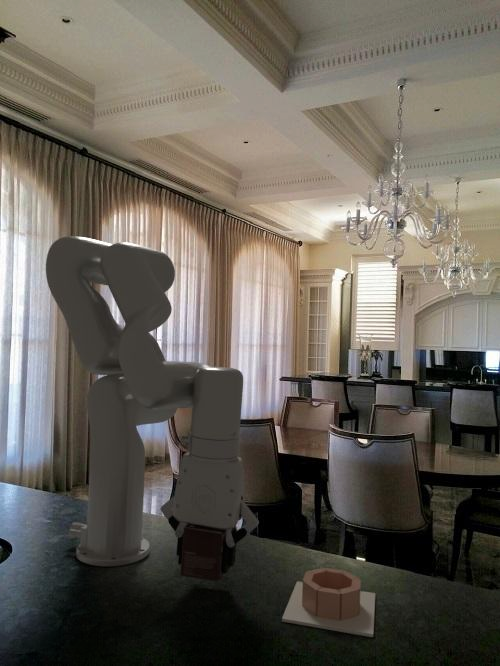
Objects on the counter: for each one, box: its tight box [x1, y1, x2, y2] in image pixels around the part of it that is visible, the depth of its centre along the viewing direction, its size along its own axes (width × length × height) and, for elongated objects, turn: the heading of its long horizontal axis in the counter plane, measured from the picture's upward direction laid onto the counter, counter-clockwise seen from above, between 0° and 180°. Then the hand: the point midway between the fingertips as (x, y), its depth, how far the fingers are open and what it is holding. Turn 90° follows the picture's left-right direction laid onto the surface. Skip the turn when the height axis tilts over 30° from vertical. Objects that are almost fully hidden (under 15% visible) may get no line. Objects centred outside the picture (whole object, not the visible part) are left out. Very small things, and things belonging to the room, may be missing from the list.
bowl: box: [302, 567, 362, 621], centre depth 73 cm, size 8×8×4 cm
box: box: [180, 524, 226, 583], centre depth 77 cm, size 6×6×7 cm
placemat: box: [281, 580, 376, 638], centre depth 72 cm, size 12×12×1 cm
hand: (205, 564), depth 77 cm, fingers closed on box, 6 cm apart
